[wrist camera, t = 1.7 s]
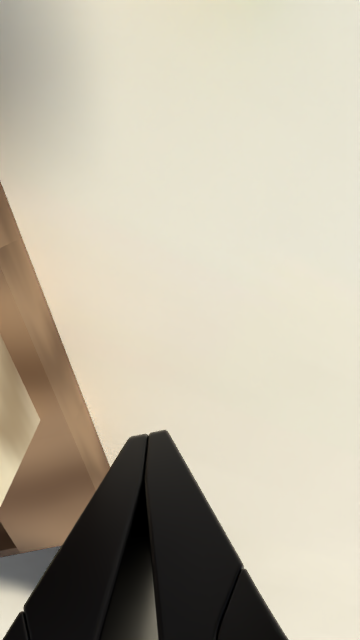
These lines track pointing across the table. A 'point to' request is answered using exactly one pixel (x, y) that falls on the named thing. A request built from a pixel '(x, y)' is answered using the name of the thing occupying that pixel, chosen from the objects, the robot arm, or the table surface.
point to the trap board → (43, 411)
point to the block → (13, 420)
